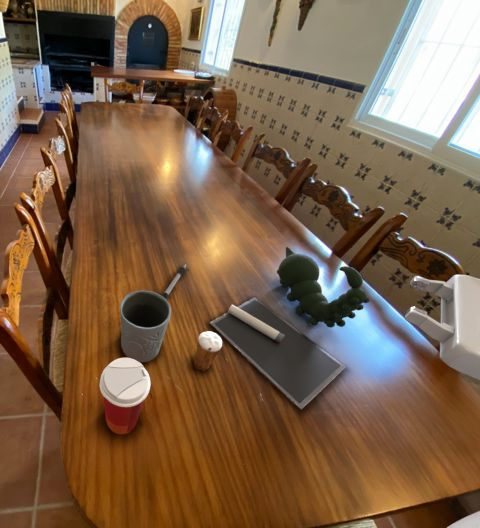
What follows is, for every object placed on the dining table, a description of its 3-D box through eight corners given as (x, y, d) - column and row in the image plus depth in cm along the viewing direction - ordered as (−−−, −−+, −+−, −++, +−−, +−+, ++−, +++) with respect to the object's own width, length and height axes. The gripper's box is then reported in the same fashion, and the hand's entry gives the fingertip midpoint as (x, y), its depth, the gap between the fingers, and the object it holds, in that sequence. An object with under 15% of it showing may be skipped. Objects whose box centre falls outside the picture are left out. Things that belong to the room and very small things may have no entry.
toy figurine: (339, 340, 72) (288, 267, 89) (394, 290, 59) (322, 215, 76) (304, 343, 71) (259, 268, 88) (353, 292, 57) (288, 216, 75)
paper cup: (134, 392, 57) (141, 349, 48) (148, 433, 52) (159, 394, 43) (94, 403, 55) (94, 361, 46) (105, 447, 49) (106, 409, 40)
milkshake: (187, 372, 61) (198, 343, 55) (192, 351, 65) (202, 322, 59) (209, 380, 60) (223, 352, 54) (213, 359, 64) (226, 330, 57)
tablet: (344, 368, 64) (346, 366, 63) (299, 411, 56) (301, 409, 56) (253, 298, 79) (254, 296, 78) (208, 324, 71) (209, 322, 71)
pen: (160, 299, 77) (161, 295, 76) (183, 265, 88) (184, 261, 87) (165, 301, 76) (166, 297, 75) (187, 266, 88) (188, 263, 87)
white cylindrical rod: (284, 335, 68) (232, 305, 74) (285, 334, 66) (232, 303, 72) (279, 343, 67) (228, 312, 74) (280, 342, 66) (227, 310, 72)
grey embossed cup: (128, 371, 60) (132, 335, 53) (110, 333, 67) (112, 296, 60) (171, 355, 64) (181, 319, 56) (150, 321, 71) (156, 284, 63)
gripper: (526, 418, 35) (389, 349, 42) (504, 320, 48) (402, 279, 54) (581, 392, 31) (420, 320, 38) (542, 293, 44) (426, 252, 50)
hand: (410, 295), depth 46 cm, fingers open, 8 cm apart
